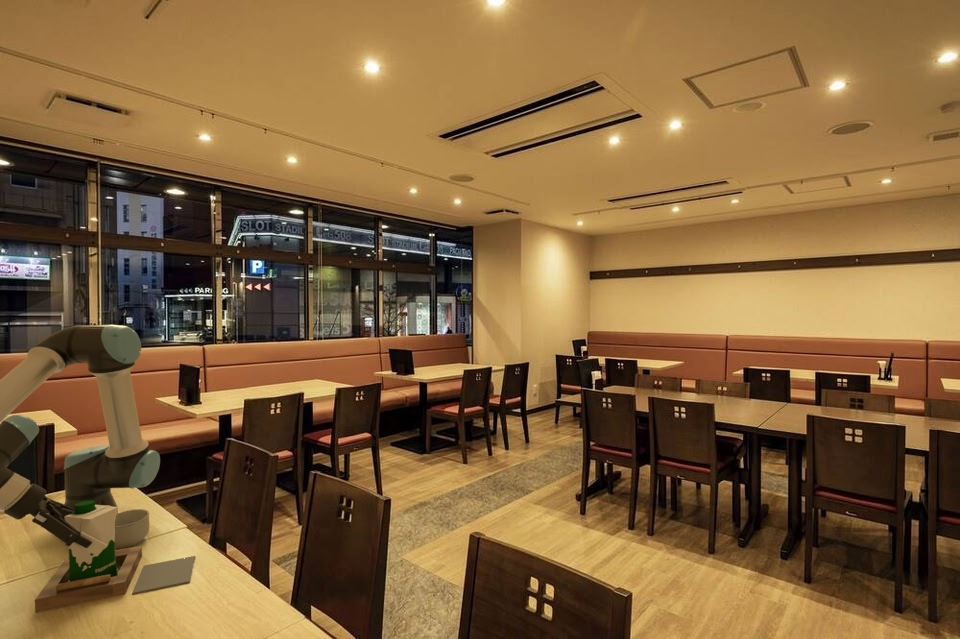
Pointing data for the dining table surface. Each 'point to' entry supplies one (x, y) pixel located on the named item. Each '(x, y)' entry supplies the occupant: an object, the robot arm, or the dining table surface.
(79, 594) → the frame
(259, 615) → the dining table surface
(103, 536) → the soya milk
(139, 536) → the teacup
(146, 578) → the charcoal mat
